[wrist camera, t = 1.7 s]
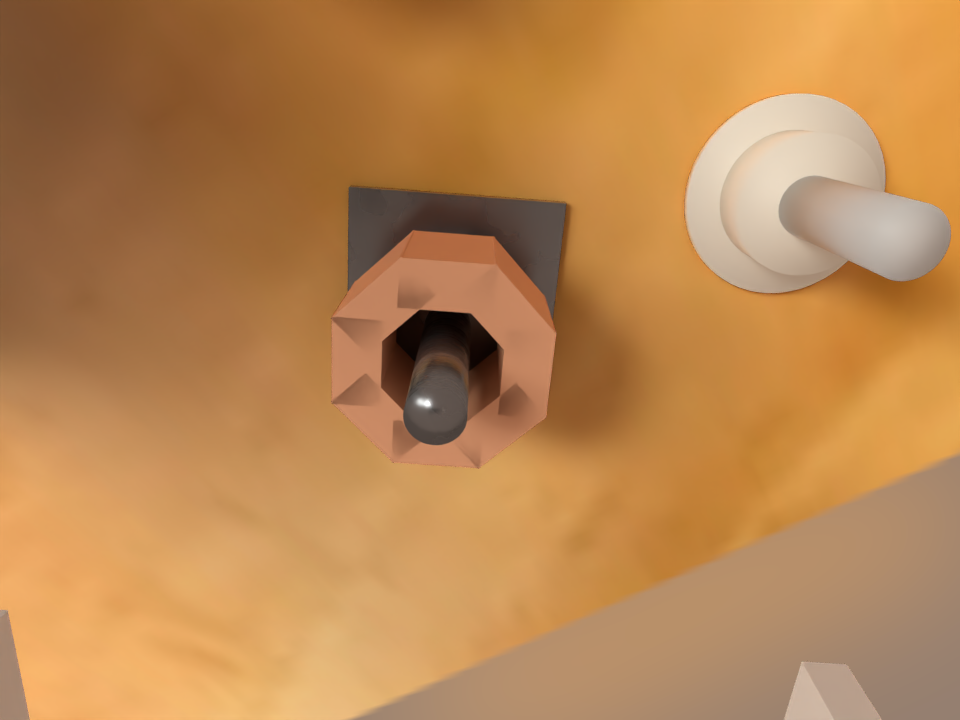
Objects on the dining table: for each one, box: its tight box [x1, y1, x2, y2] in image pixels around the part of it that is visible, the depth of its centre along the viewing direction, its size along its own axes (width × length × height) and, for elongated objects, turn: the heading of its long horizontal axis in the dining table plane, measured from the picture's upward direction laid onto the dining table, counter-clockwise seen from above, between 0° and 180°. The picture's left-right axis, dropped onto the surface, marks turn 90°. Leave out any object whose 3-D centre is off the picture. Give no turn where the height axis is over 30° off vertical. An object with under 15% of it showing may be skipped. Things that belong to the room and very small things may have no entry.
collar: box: [331, 230, 557, 468], centre depth 28 cm, size 8×8×5 cm
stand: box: [348, 185, 566, 445], centre depth 28 cm, size 10×10×14 cm
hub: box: [684, 94, 951, 293], centre depth 28 cm, size 9×9×10 cm
